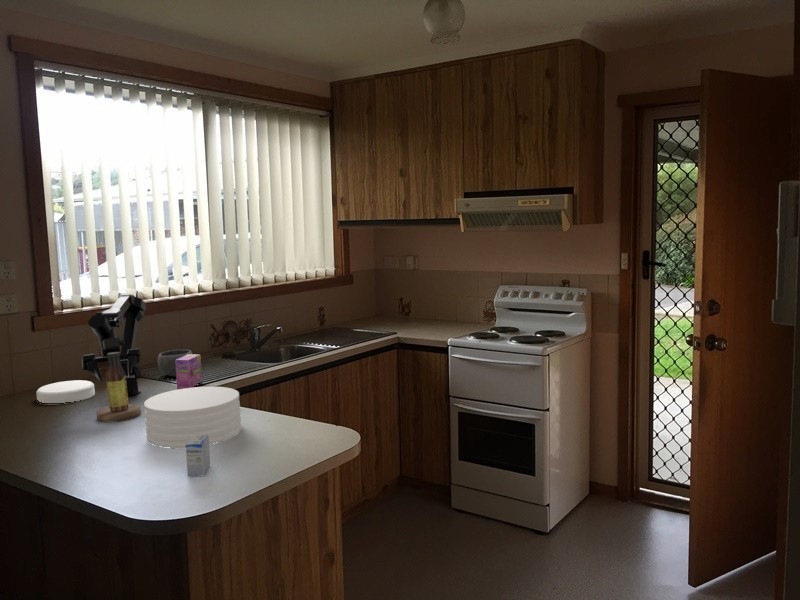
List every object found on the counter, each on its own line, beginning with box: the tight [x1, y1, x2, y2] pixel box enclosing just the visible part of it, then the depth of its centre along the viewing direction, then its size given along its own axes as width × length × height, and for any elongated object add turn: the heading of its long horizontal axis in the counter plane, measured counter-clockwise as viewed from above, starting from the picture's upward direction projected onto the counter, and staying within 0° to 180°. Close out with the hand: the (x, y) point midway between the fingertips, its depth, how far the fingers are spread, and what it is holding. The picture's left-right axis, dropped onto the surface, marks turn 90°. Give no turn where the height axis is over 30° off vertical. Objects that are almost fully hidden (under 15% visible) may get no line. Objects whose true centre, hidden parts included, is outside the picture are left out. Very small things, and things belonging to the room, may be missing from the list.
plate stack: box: [143, 386, 242, 448], centre depth 215 cm, size 28×28×12 cm
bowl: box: [157, 349, 193, 377], centre depth 297 cm, size 15×15×10 cm
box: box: [175, 353, 203, 390], centre depth 277 cm, size 10×6×12 cm, turn 168°
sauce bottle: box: [105, 352, 129, 412], centre depth 237 cm, size 6×6×20 cm
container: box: [35, 379, 96, 404], centre depth 267 cm, size 20×20×5 cm
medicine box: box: [185, 435, 211, 477], centre depth 183 cm, size 8×4×9 cm, turn 5°
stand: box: [96, 404, 142, 422], centre depth 239 cm, size 14×14×2 cm
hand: (115, 379), depth 239 cm, fingers open, 9 cm apart
